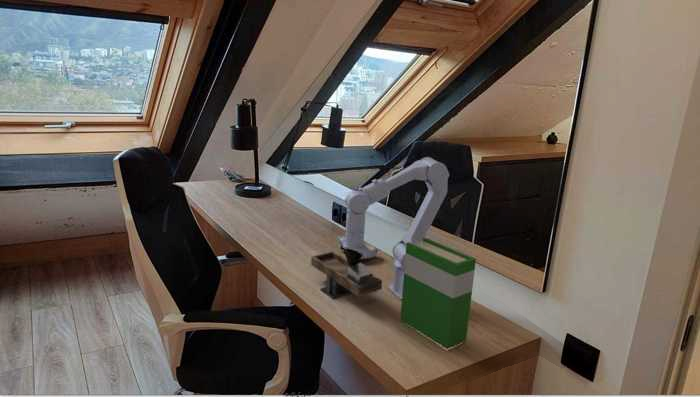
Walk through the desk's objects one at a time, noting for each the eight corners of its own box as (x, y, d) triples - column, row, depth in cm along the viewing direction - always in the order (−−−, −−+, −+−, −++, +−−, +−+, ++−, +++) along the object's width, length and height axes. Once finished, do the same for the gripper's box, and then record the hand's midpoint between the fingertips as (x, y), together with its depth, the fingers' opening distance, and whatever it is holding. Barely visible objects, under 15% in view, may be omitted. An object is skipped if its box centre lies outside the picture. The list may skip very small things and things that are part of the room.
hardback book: (400, 321, 133) (406, 242, 126) (418, 313, 137) (425, 237, 131) (447, 351, 119) (456, 265, 113) (465, 342, 124) (475, 258, 117)
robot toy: (336, 252, 182) (352, 264, 169) (336, 241, 182) (352, 253, 168) (363, 249, 188) (381, 260, 174) (363, 238, 187) (382, 248, 173)
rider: (369, 286, 143) (374, 275, 140) (356, 290, 140) (361, 278, 137) (357, 271, 147) (362, 260, 144) (345, 275, 144) (349, 263, 141)
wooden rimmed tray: (381, 289, 142) (382, 280, 141) (358, 296, 137) (359, 287, 136) (333, 259, 162) (333, 251, 161) (311, 264, 156) (311, 256, 156)
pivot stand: (367, 288, 152) (368, 271, 150) (332, 299, 144) (333, 281, 142) (354, 280, 157) (355, 263, 156) (320, 290, 149) (320, 273, 147)
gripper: (330, 225, 144) (329, 265, 148) (359, 239, 133) (356, 282, 137) (348, 222, 149) (346, 261, 152) (378, 235, 138) (375, 277, 141)
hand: (352, 271), depth 145 cm, fingers closed, pressing on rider
